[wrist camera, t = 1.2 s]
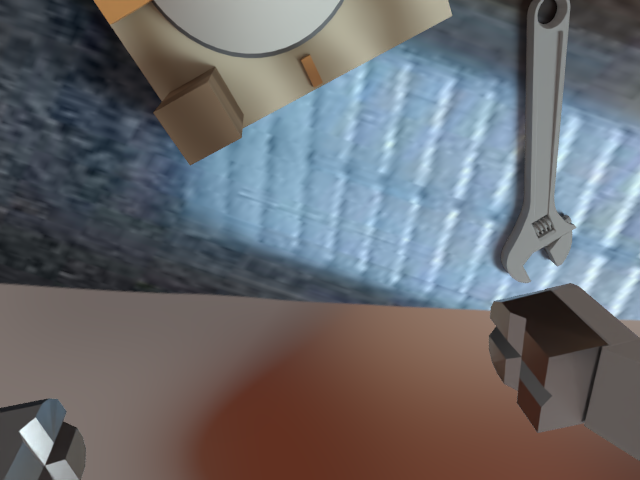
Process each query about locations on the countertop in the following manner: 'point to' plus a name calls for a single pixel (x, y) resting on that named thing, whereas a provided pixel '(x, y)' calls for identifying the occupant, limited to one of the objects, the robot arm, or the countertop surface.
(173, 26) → the panel
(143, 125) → the countertop surface
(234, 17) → the dial
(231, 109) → the block
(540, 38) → the adjustable wrench
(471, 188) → the countertop surface
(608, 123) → the countertop surface
